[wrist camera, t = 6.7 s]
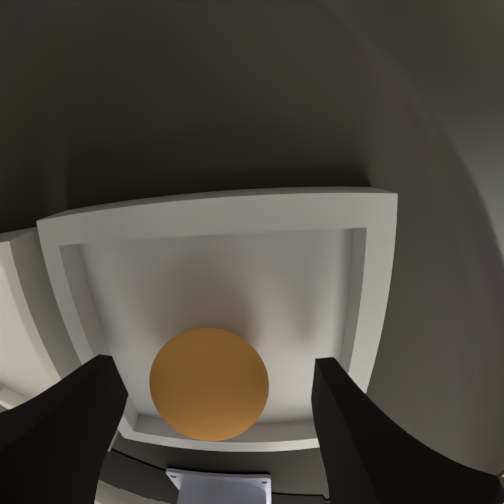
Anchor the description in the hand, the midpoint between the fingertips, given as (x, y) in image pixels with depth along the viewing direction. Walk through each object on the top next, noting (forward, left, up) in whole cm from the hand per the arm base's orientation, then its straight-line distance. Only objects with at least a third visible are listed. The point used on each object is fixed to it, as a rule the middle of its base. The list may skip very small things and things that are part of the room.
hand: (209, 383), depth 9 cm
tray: (0, 0, -3) cm, 3 cm away
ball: (0, 0, -2) cm, 2 cm away
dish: (-1, +14, -3) cm, 14 cm away
